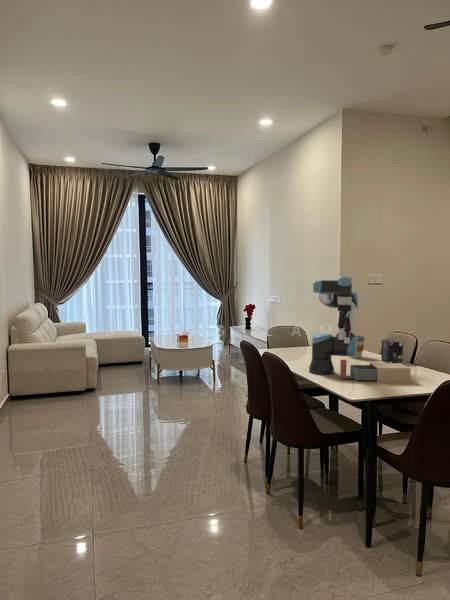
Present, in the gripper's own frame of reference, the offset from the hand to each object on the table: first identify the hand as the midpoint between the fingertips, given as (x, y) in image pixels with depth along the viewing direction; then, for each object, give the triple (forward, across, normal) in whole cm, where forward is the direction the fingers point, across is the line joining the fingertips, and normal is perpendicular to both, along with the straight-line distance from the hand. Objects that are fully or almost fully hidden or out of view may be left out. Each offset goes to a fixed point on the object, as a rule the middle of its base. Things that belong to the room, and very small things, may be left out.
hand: (343, 341), depth 251 cm
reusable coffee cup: (+22, +69, -25) cm, 77 cm away
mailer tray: (+21, 0, -10) cm, 23 cm away
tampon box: (+22, +53, -46) cm, 73 cm away
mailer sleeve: (+22, 0, -26) cm, 34 cm away
